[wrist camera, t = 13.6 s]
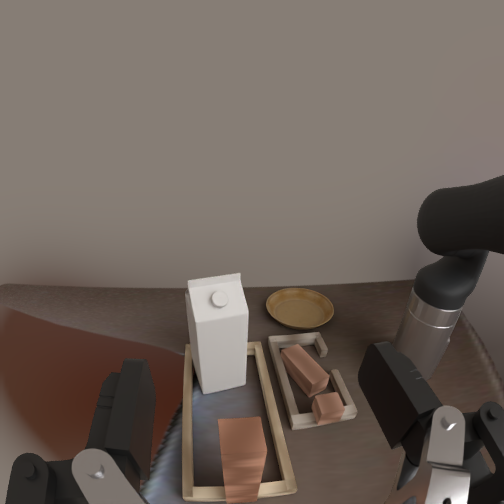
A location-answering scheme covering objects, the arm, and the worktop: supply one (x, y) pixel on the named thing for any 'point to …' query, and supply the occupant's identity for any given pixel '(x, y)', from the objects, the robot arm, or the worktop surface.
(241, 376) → the milk carton
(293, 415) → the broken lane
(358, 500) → the worktop surface
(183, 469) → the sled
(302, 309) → the plant saucer
